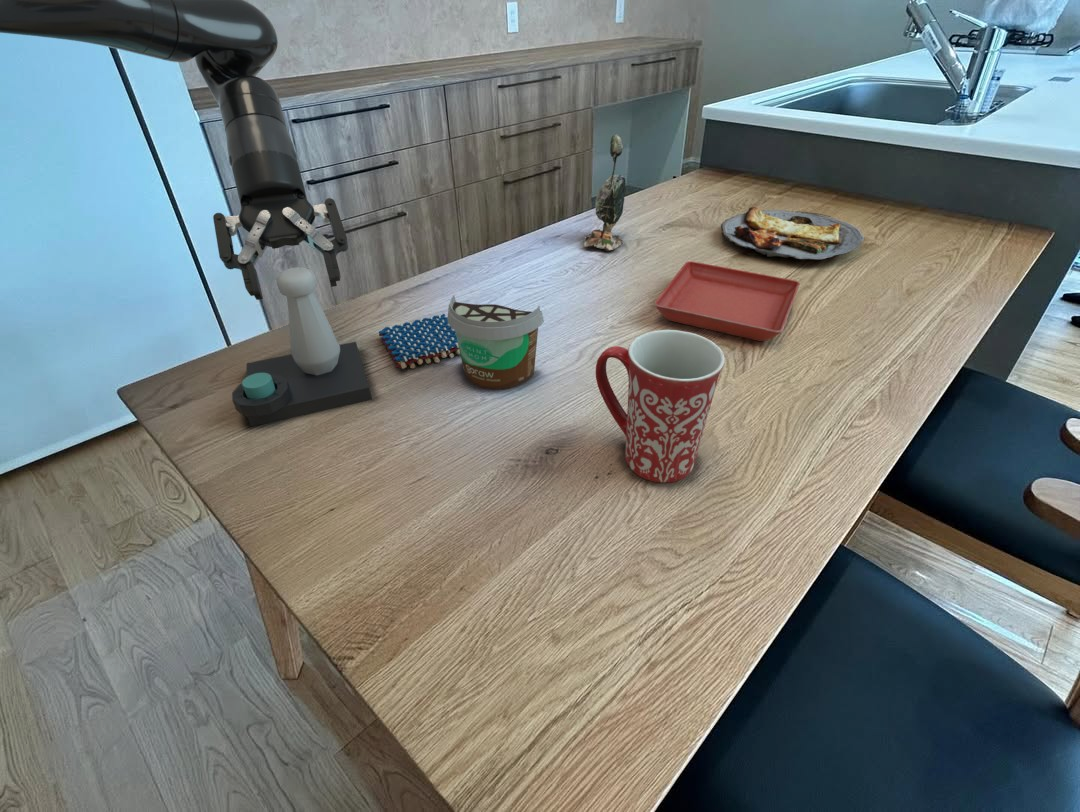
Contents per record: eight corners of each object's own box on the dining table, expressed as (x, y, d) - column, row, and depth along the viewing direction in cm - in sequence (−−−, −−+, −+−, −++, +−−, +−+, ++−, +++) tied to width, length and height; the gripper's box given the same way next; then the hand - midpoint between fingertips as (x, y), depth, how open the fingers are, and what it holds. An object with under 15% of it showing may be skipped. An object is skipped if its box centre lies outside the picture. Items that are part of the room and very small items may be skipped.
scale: (241, 434, 67) (231, 410, 65) (242, 376, 77) (233, 354, 75) (373, 404, 72) (368, 380, 70) (358, 353, 82) (353, 331, 80)
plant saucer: (796, 299, 93) (801, 279, 91) (776, 352, 80) (782, 331, 78) (684, 278, 100) (687, 259, 98) (650, 324, 87) (652, 304, 85)
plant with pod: (635, 237, 115) (645, 126, 104) (610, 256, 108) (617, 139, 96) (598, 229, 119) (603, 122, 107) (571, 248, 111) (573, 134, 99)
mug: (717, 453, 64) (740, 346, 56) (680, 502, 58) (700, 391, 50) (616, 412, 70) (624, 310, 62) (574, 453, 64) (576, 347, 56)
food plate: (700, 246, 111) (702, 228, 109) (746, 212, 126) (750, 196, 124) (838, 278, 99) (844, 258, 97) (871, 237, 113) (877, 219, 111)
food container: (438, 386, 75) (428, 316, 69) (457, 361, 79) (449, 294, 73) (530, 402, 72) (527, 330, 66) (544, 375, 76) (543, 306, 70)
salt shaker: (349, 370, 74) (325, 275, 67) (302, 384, 72) (272, 286, 64) (336, 350, 79) (313, 258, 71) (292, 362, 76) (263, 268, 68)
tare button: (246, 403, 67) (241, 390, 66) (246, 388, 69) (241, 376, 68) (276, 396, 68) (271, 384, 67) (275, 382, 70) (270, 370, 69)
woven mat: (474, 354, 81) (472, 341, 80) (399, 374, 77) (396, 361, 76) (448, 322, 88) (446, 310, 87) (378, 339, 85) (376, 326, 83)
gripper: (328, 176, 77) (358, 291, 75) (210, 190, 73) (239, 312, 71) (323, 141, 70) (356, 268, 68) (191, 154, 66) (223, 290, 64)
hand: (296, 290), depth 70 cm, fingers open, 8 cm apart
